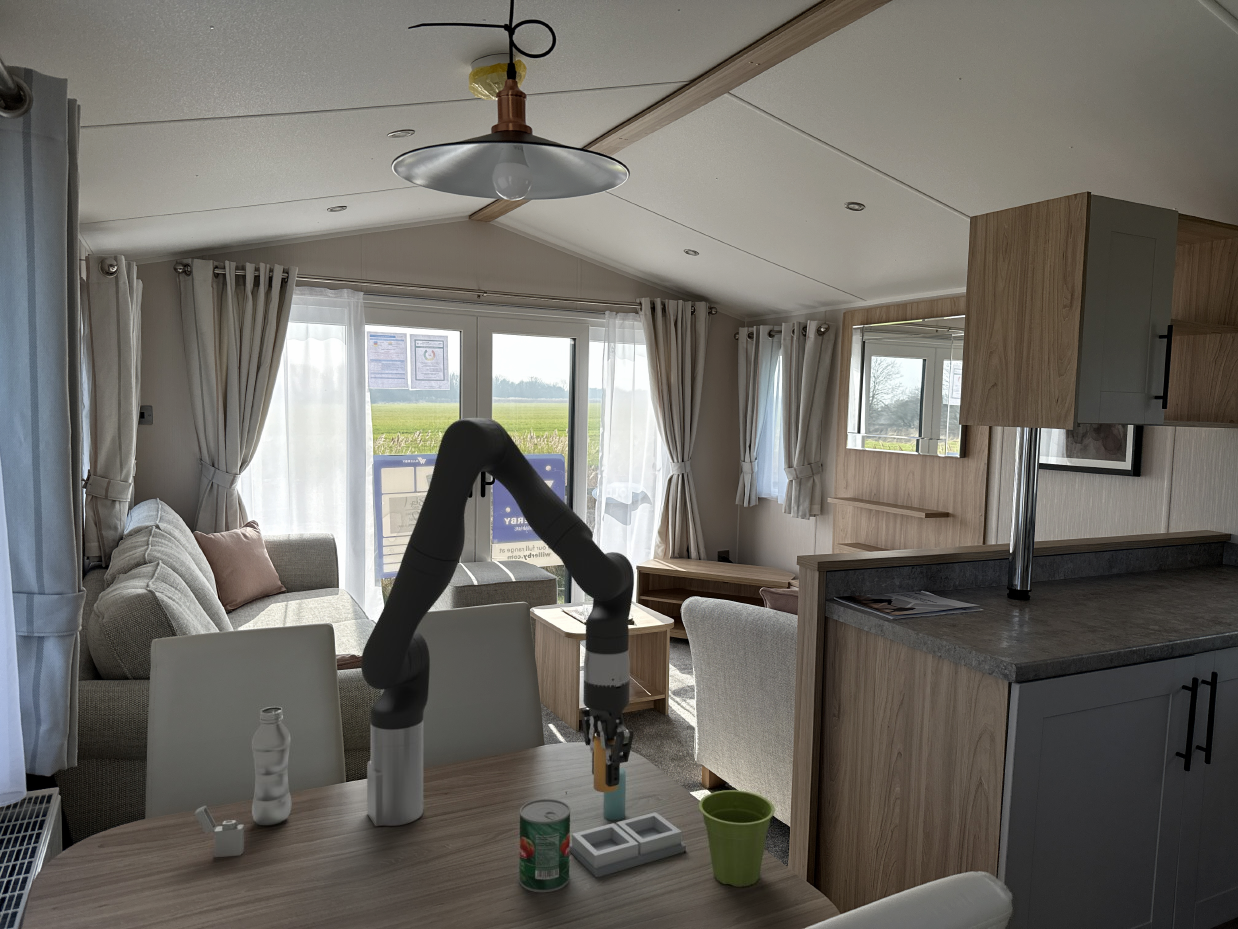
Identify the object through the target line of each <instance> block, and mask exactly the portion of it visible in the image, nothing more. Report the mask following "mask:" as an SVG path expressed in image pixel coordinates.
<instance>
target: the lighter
mask: <svg viewBox="0 0 1238 929" xmlns="http://www.w3.org/2000/svg"><path fill="white" fill-rule="evenodd" d="M194 815H195V818H196V819H197V821H198V823H199V825H200V826H201V829H202V831H203V832H204V834H205V835H206V836H207V835H209V834H211V833H213V832H214V858H220V857H222V858H223V857H234V856H242V855H243V853H244V851H245V846H244V845H245V827H244V826H245V824H239V822H237V821H236V820H235V819H233V820H223V822H222V824H221V825H217V823H216V821H215V819H214V818H213V816H212V814H211V813H210V811H209V808H208V807H207V805H203V806H201V807H199V808H197V809H196V810H195V812H194ZM241 854H242V855H241Z"/></svg>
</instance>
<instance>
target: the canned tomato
mask: <svg viewBox="0 0 1238 929" xmlns="http://www.w3.org/2000/svg"><path fill="white" fill-rule="evenodd" d="M570 837H571V807H570V805H569V804H567V803H565V802H564V801H562V800H559V799H558V800H557V799H552V798H540V799H535V800H531V801H528V802H527V803H525V804H523V805H522V806H521V807H520V809H519V848H518V849H519V851H518V853H519V857H518V858H519V862H518V864H519V867H518V873H519V875H518V882H519V885H520V886H521V887H523V888H524V889H525V890H527V891H530V892H535V893H552V892H555V891H559V890H560V889H562V888H564V887H566V885H567V884H568V883H569V881H570V860H571V859H570V854H571V852H570V843H571V840H570V839H571V838H570Z"/></svg>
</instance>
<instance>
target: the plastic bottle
mask: <svg viewBox="0 0 1238 929" xmlns="http://www.w3.org/2000/svg"><path fill="white" fill-rule="evenodd" d="M259 715H260V716H259V724H260V726H258V728H257V730H256V731H255V733H254V734H253V736H252V739H251V749H252V755H253V764H254V773H255V775H254V776H255V780H254V781H255V784H254V792H253V794H254V796H253V798H252V806H251V813H252V820H254V821H255V823H256V824H257V825H260V826H273V825H277V824H281V823H282V822H284V821H286V820H287V818H288V817H289V815H290V814H291V810H292V806H293V805H292V796H291V793H290V786H289V778H288V771H289V768H288V767H289V753H290V748H291V734H290V731H289V729H288V728H287V727H286V725H284V723H282V721H283V719H284V716H283V707H280V706H268V707H264V708H263V709H260V711H259Z"/></svg>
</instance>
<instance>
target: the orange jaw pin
mask: <svg viewBox="0 0 1238 929" xmlns="http://www.w3.org/2000/svg"><path fill="white" fill-rule="evenodd" d="M607 742H608V744H610V743H615V740H611V741H607ZM613 749H614V748H613ZM613 749H611V756H612V754H613ZM605 782H606V756H605V750H604V749H602V745H601V737H598V736H596V737H595V738H594V775H593V790H595V791H597V792H600V793H604V792H613V791H615V790H617V789H618V785H616V786H612V787H608V786H607V785H606V783H605Z"/></svg>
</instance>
